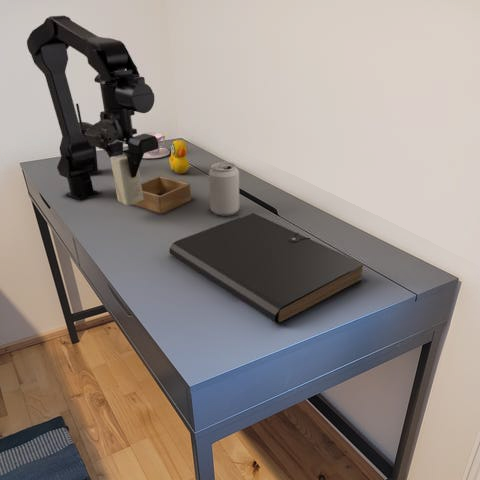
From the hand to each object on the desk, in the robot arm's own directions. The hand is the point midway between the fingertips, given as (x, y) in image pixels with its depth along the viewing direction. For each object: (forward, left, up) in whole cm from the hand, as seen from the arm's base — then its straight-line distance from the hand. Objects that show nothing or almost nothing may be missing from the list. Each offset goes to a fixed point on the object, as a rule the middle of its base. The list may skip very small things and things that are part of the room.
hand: (126, 175), depth 116 cm
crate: (-1, +11, -11) cm, 16 cm away
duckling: (-13, +32, -11) cm, 37 cm away
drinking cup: (-36, +16, -11) cm, 41 cm away
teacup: (-34, +41, -11) cm, 55 cm away
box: (0, 0, -7) cm, 7 cm away
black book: (+42, -3, -11) cm, 44 cm away
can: (+17, +16, -11) cm, 26 cm away
